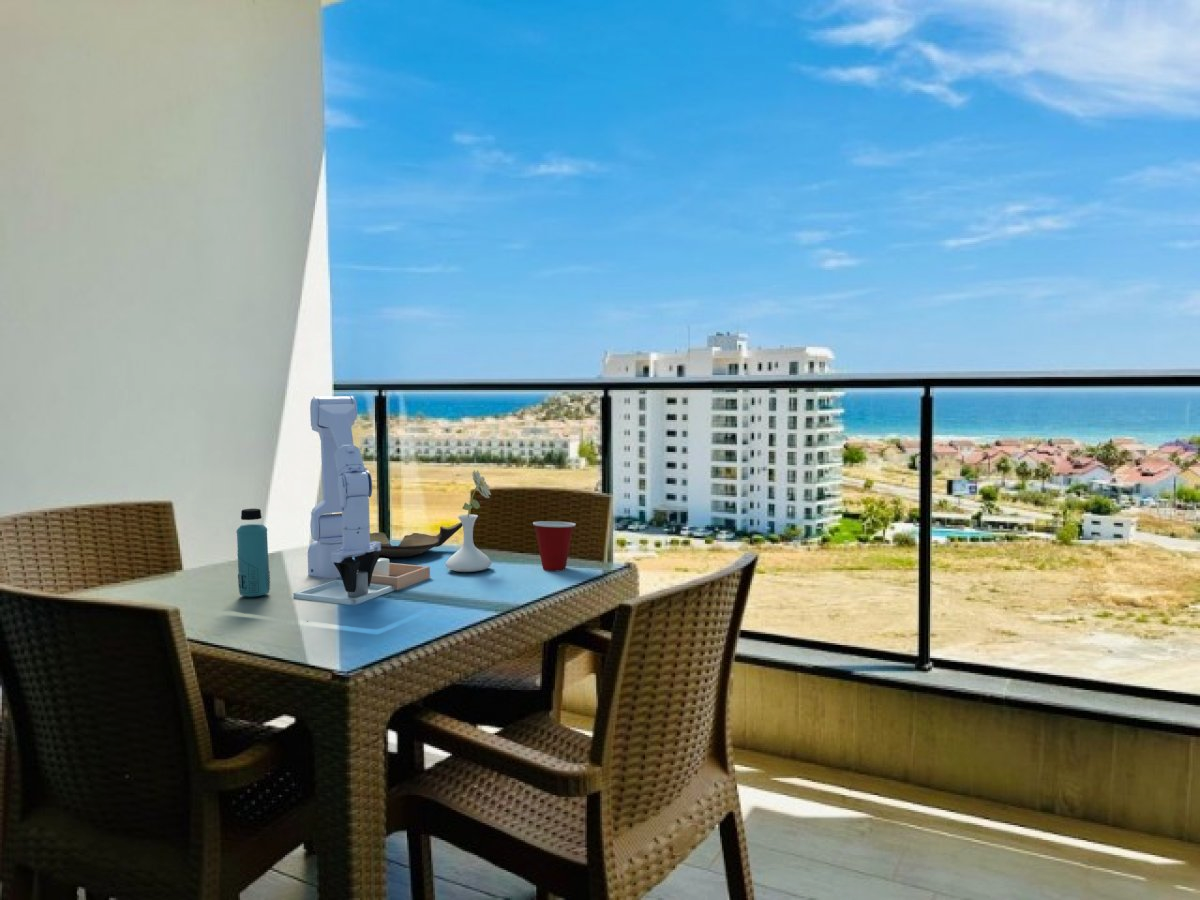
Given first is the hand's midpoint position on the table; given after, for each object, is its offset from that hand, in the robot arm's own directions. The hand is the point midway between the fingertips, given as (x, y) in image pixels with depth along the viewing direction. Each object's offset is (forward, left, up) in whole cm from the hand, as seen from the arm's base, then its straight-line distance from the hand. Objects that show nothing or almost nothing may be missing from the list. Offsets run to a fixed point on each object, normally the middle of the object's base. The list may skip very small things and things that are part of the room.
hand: (357, 589), depth 194 cm
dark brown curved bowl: (-19, +45, -3) cm, 49 cm away
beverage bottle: (-21, -9, -2) cm, 23 cm away
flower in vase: (+7, +35, -2) cm, 36 cm away
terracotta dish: (-2, +14, -2) cm, 14 cm away
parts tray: (-4, 0, -2) cm, 4 cm away
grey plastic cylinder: (0, 0, -1) cm, 1 cm away
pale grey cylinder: (-5, +14, -2) cm, 15 cm away
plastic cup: (+26, +44, -2) cm, 51 cm away
